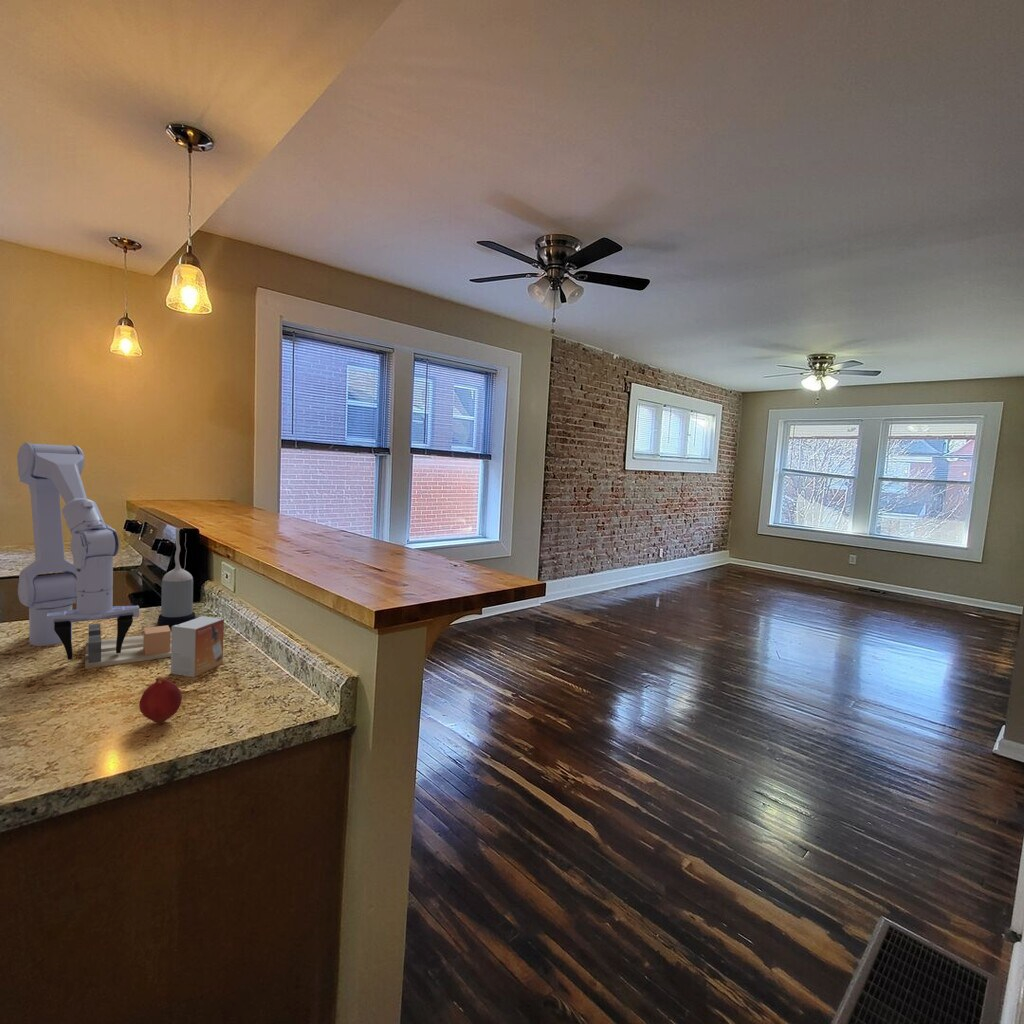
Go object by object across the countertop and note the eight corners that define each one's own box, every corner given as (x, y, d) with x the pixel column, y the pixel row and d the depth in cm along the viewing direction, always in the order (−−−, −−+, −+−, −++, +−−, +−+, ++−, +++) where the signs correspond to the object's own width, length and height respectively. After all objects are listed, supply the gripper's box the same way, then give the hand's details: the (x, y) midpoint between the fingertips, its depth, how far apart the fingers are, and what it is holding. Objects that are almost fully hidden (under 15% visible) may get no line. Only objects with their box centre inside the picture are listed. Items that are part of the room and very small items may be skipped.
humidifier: (156, 623, 136) (157, 526, 134) (193, 619, 141) (195, 526, 139) (158, 632, 130) (159, 531, 127) (197, 628, 135) (199, 530, 132)
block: (143, 648, 115) (143, 628, 114) (168, 645, 118) (168, 625, 117) (144, 655, 111) (145, 634, 111) (170, 651, 114) (170, 631, 114)
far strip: (85, 645, 116) (85, 623, 116) (172, 635, 126) (172, 615, 126) (85, 654, 111) (85, 632, 111) (175, 643, 121) (175, 622, 121)
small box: (194, 681, 104) (195, 629, 103) (169, 677, 105) (170, 625, 104) (223, 667, 112) (225, 618, 111) (200, 663, 113) (201, 615, 112)
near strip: (85, 658, 110) (85, 635, 109) (176, 646, 119) (177, 625, 119) (85, 668, 105) (85, 645, 104) (180, 655, 114) (180, 633, 114)
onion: (152, 714, 91) (153, 668, 90) (188, 714, 91) (188, 669, 91) (131, 731, 85) (131, 682, 84) (169, 731, 86) (170, 683, 85)
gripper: (45, 597, 99) (45, 667, 100) (140, 590, 108) (139, 655, 109) (47, 588, 105) (48, 655, 106) (138, 582, 114) (137, 644, 115)
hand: (94, 654), depth 108 cm, fingers open, 7 cm apart
